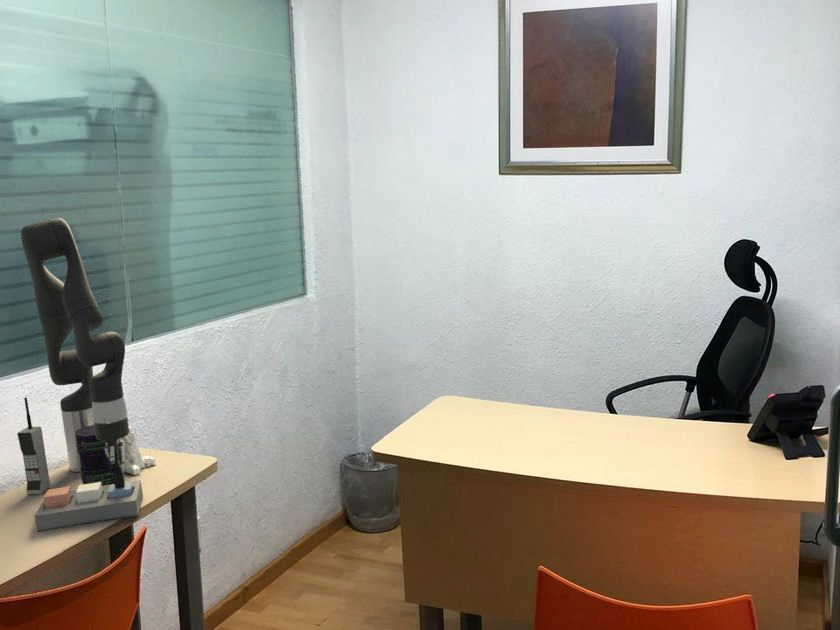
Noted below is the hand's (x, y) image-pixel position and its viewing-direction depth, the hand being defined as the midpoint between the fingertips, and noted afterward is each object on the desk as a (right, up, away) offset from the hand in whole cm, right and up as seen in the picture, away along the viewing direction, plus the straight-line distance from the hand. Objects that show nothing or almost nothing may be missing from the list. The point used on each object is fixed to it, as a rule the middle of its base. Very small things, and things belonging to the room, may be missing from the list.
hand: (120, 486), depth 201 cm
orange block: (-13, -4, -3) cm, 14 cm away
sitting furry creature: (-6, -1, +29) cm, 30 cm away
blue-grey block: (0, -3, +1) cm, 3 cm away
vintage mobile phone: (-27, -5, +17) cm, 32 cm away
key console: (-6, -6, -1) cm, 9 cm away
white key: (-7, -3, -1) cm, 7 cm away
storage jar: (-11, -3, +19) cm, 22 cm away
